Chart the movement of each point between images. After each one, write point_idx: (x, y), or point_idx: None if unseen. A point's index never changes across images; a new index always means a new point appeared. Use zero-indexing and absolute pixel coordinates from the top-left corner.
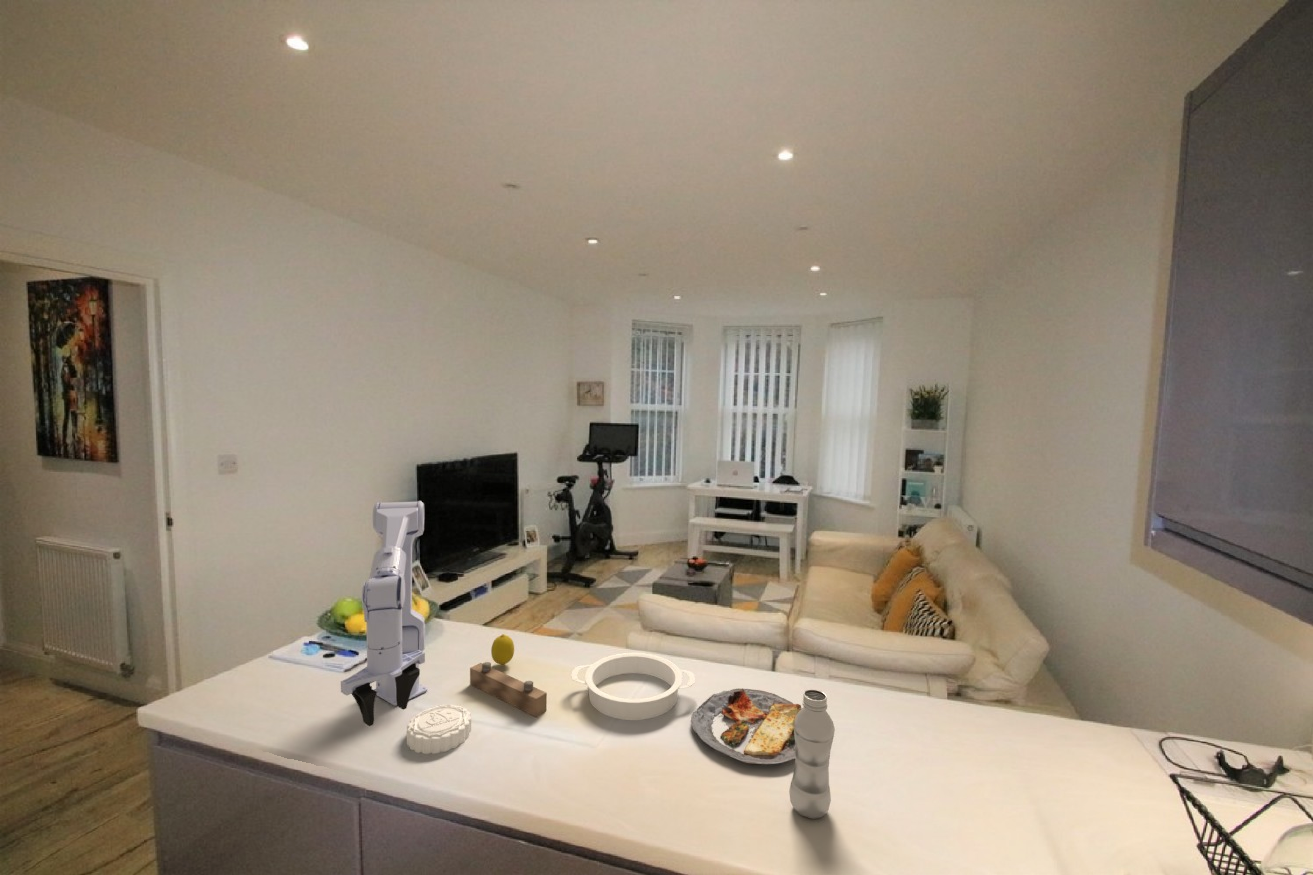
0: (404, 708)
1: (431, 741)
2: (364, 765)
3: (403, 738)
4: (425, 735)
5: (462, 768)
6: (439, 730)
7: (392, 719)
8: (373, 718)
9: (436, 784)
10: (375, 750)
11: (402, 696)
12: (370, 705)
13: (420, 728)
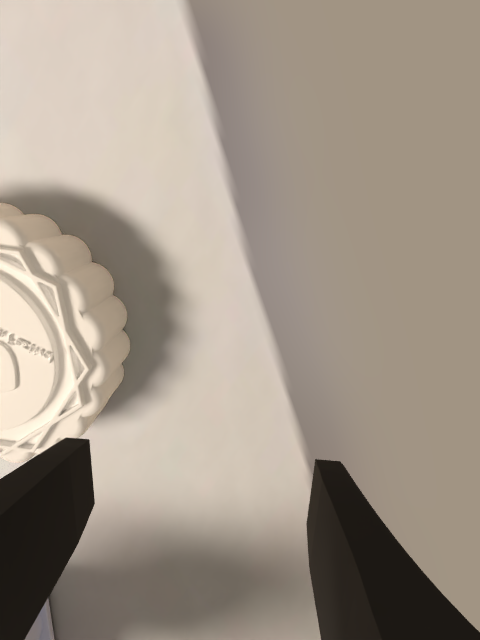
0: (78, 439)
1: (67, 265)
2: (277, 400)
3: (114, 414)
4: (66, 312)
5: (58, 47)
6: (5, 281)
7: None
8: (330, 485)
9: (187, 56)
10: (209, 436)
11: (32, 529)
12: (424, 618)
13: (57, 368)
